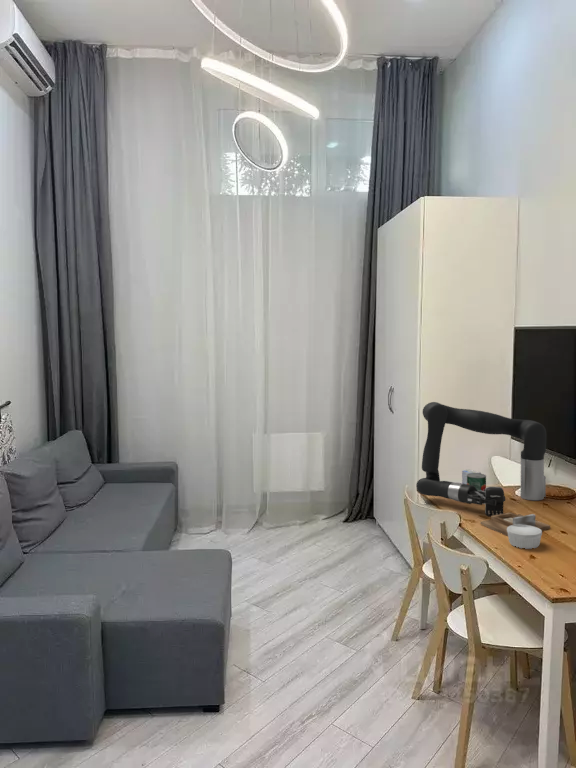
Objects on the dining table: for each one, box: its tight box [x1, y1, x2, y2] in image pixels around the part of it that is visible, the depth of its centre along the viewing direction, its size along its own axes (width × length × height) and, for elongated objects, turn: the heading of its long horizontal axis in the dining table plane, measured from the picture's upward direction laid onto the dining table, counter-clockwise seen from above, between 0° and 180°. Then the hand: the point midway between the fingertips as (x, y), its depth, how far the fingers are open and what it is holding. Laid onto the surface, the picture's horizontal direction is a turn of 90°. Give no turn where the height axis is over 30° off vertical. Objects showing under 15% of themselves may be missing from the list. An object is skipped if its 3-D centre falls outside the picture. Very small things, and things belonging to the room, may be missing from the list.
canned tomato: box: [467, 473, 487, 491], centre depth 251 cm, size 8×8×11 cm
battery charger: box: [484, 486, 505, 517], centre depth 229 cm, size 7×4×11 cm, turn 77°
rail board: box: [480, 512, 551, 537], centre depth 217 cm, size 19×15×5 cm
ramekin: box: [507, 525, 543, 550], centre depth 199 cm, size 11×11×5 cm
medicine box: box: [461, 469, 482, 484], centre depth 267 cm, size 8×4×9 cm, turn 27°
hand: (500, 500), depth 227 cm, fingers closed on battery charger, 6 cm apart
